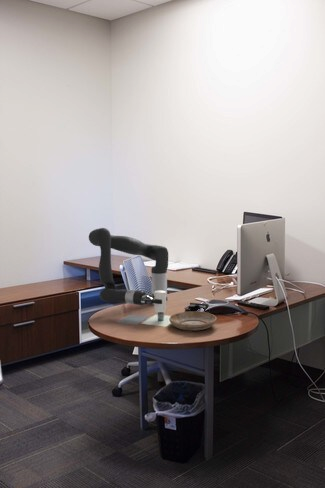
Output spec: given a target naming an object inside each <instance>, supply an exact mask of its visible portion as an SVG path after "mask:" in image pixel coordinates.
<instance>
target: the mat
mask: <svg viewBox="0 0 325 488" xmlns="http://www.w3.org/2000/svg"><path fill="white" fill-rule="evenodd" d="M149 318H151V316H147V315H140V314H139V315H138V314H131V313H130V314H128V315H127V316H125V317H123V318H121V319H120V320H118V321H116V322H115V323H118V324H124V325H125V324H126V325H133V326H138V325H139V324H141V323H143V322H144V321H146V320H148V319H149Z"/></svg>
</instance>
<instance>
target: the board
mask: <svg viewBox="0 0 325 488" xmlns="http://www.w3.org/2000/svg"><path fill="white" fill-rule="evenodd" d="M171 316H172V315H166V314H164V321H158V313H157V314H156V313H155V314H154V315H153V316H150V317H149V318H147V319H146V320H144V321H142V322H141V323H140V324H142V325H149V326H156V327H164V328H165V327H168V326H169V325H172V324H171V323H170V320H169V318H170V317H171Z"/></svg>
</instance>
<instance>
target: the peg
mask: <svg viewBox="0 0 325 488" xmlns="http://www.w3.org/2000/svg"><path fill="white" fill-rule="evenodd" d="M157 314H158V321H164V315H165V312H157Z"/></svg>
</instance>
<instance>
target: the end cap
mask: <svg viewBox="0 0 325 488" xmlns="http://www.w3.org/2000/svg"><path fill="white" fill-rule="evenodd" d="M208 307H209V308H210V305H209V304H208V303H199V302H198V303H197V302H190V303H189V306H188V308H187V309H188V311H187V312H196V311H197V310H198V309H200V308H203V309H204V311H205V310H206V309H207V308H208ZM205 312H206V313H210V311H209V312H208V311H205Z"/></svg>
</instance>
